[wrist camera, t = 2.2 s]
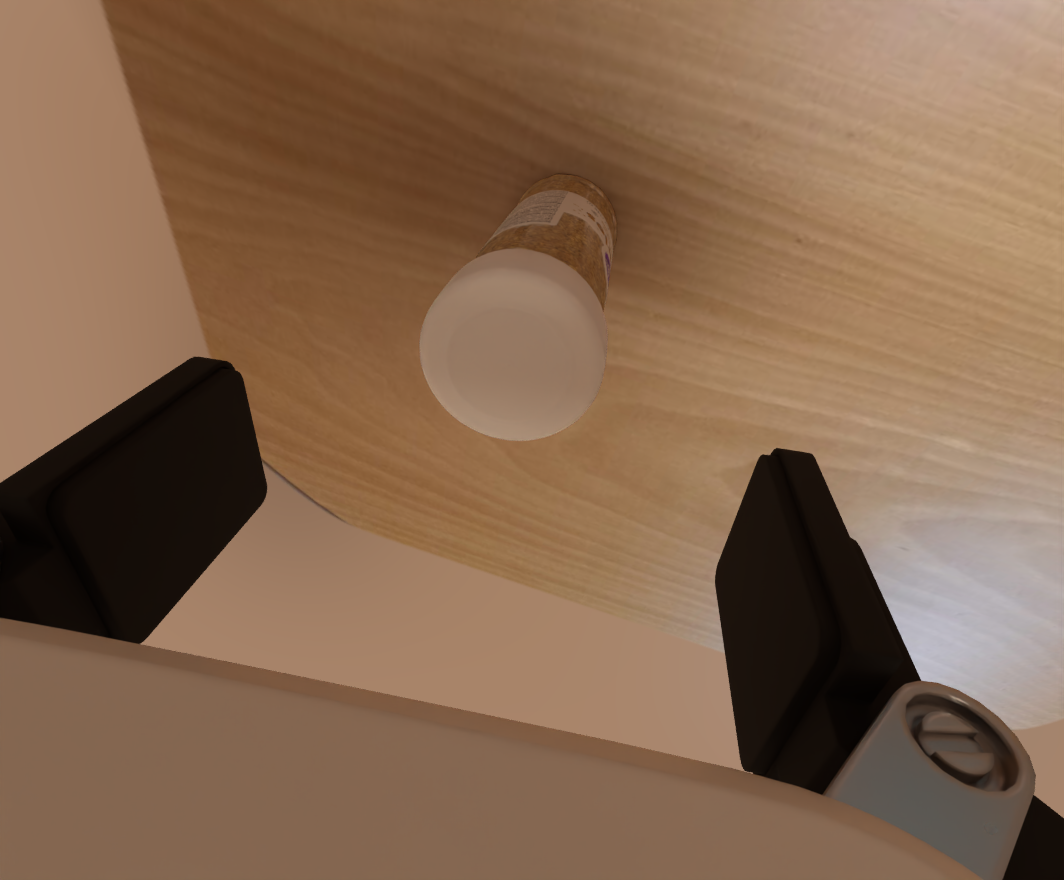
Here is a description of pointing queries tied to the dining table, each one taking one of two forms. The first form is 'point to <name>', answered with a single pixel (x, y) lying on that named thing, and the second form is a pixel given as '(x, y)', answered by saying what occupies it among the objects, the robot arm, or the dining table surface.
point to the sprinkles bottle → (527, 316)
